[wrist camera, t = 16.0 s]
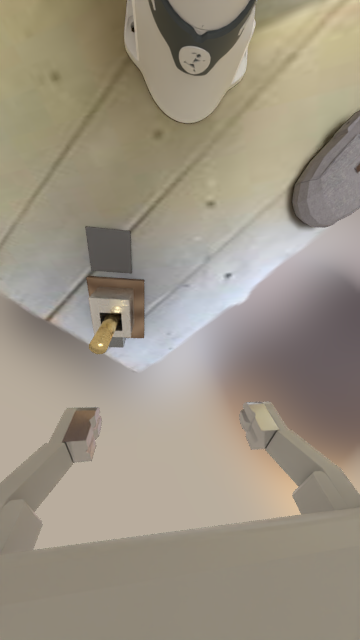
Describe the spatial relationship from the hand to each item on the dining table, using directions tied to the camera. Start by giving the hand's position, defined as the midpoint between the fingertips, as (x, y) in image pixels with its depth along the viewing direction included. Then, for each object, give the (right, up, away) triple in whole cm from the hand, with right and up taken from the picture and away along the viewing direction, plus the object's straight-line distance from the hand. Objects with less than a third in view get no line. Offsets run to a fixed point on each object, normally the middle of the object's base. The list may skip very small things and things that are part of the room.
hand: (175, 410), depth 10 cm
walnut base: (-16, +9, +36) cm, 40 cm away
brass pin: (-16, +8, +35) cm, 39 cm away
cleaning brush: (+32, +35, +27) cm, 55 cm away
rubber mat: (-15, +21, +29) cm, 39 cm away
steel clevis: (-16, +7, +35) cm, 39 cm away
